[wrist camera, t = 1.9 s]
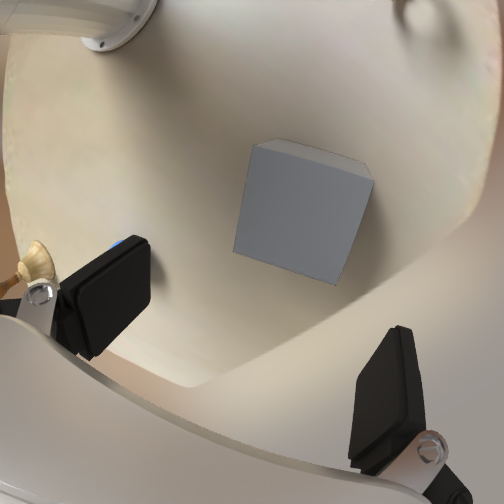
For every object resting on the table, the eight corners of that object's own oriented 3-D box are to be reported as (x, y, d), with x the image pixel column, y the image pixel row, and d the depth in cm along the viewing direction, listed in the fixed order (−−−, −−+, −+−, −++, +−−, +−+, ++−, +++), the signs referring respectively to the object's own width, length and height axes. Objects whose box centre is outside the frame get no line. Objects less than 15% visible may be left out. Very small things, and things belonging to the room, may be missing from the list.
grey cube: (279, 138, 24) (253, 145, 17) (365, 163, 23) (374, 180, 16) (261, 217, 28) (232, 251, 21) (339, 242, 26) (336, 285, 20)
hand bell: (59, 269, 43) (-4, 316, 30) (48, 284, 47) (-6, 326, 34) (37, 232, 42) (-28, 272, 28) (28, 251, 46) (-28, 288, 32)
